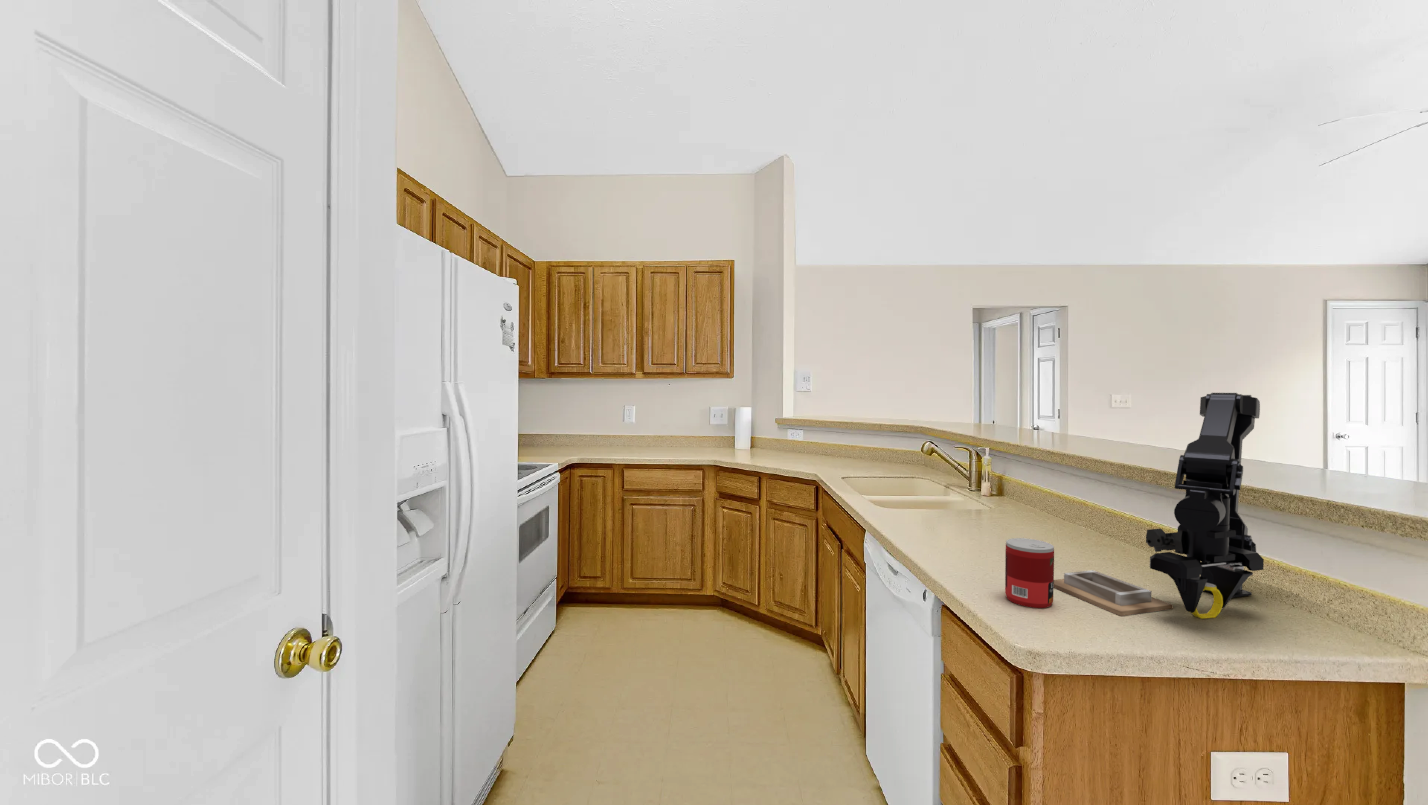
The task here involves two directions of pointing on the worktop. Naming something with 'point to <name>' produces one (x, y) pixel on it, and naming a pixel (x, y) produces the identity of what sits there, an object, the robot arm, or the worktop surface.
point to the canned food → (1029, 572)
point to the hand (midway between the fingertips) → (1205, 609)
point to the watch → (1216, 604)
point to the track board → (1110, 593)
